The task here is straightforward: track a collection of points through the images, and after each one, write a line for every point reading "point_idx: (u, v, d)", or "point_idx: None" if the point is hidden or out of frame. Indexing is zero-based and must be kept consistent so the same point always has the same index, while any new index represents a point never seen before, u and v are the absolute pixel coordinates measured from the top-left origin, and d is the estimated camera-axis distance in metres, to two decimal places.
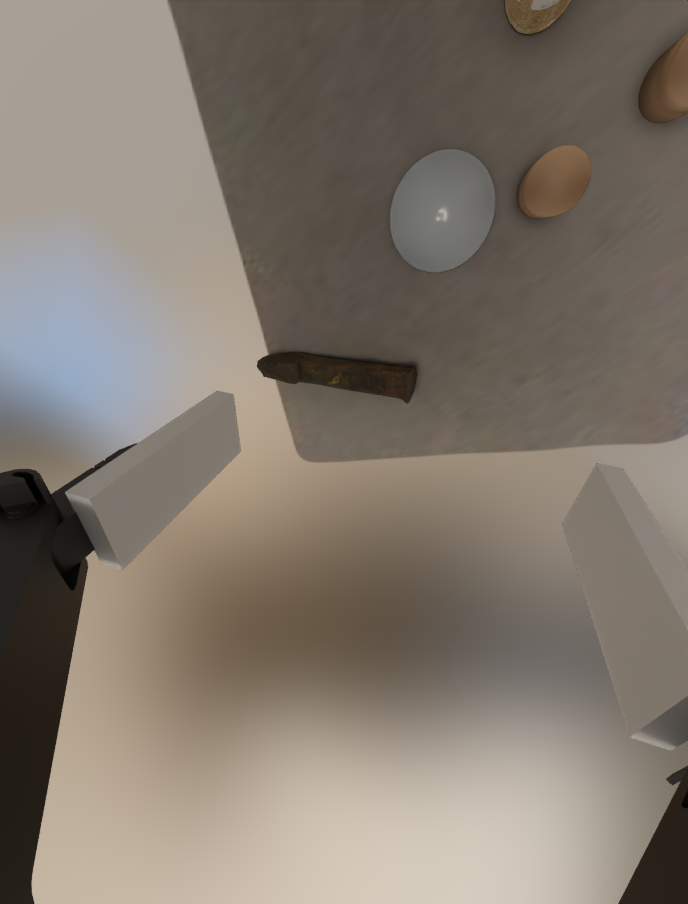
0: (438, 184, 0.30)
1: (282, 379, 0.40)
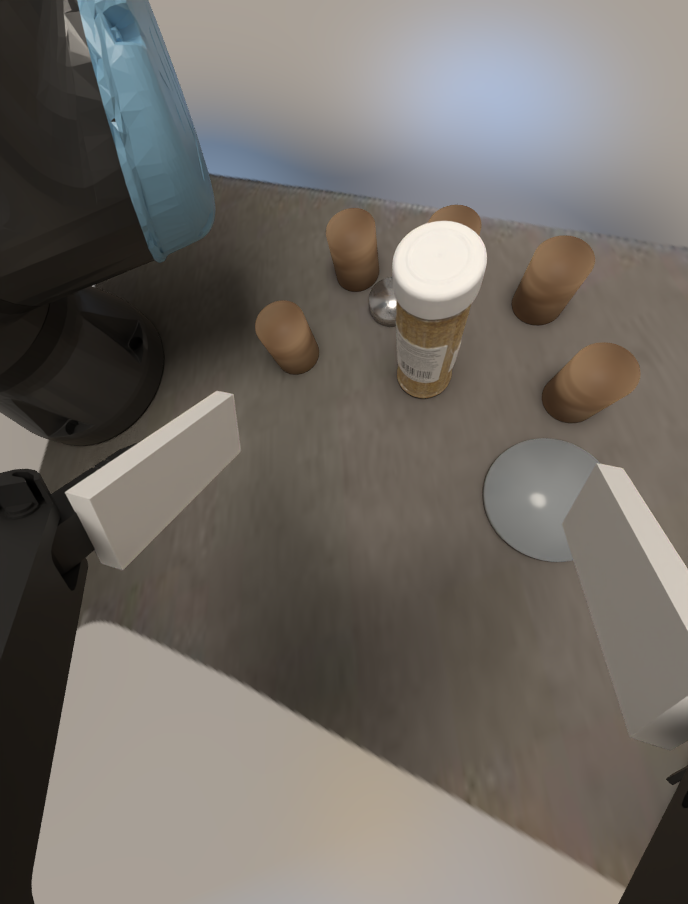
0: (517, 488, 0.26)
1: None
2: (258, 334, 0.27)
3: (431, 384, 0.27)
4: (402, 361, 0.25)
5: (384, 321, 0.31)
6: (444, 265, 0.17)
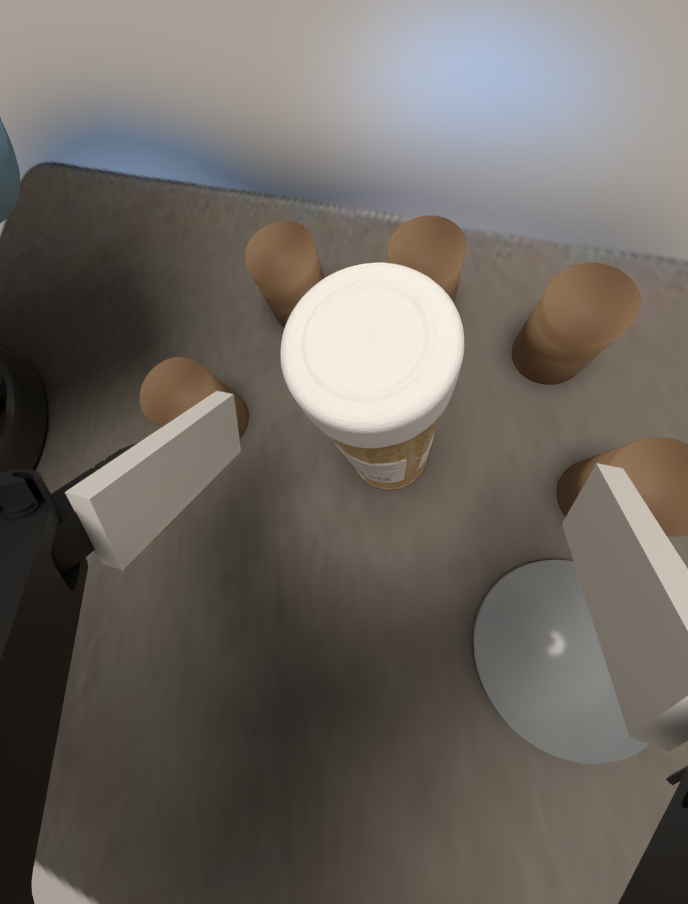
0: (523, 638, 0.18)
1: None
2: (143, 407, 0.19)
3: (395, 481, 0.18)
4: None
5: None
6: (376, 359, 0.08)
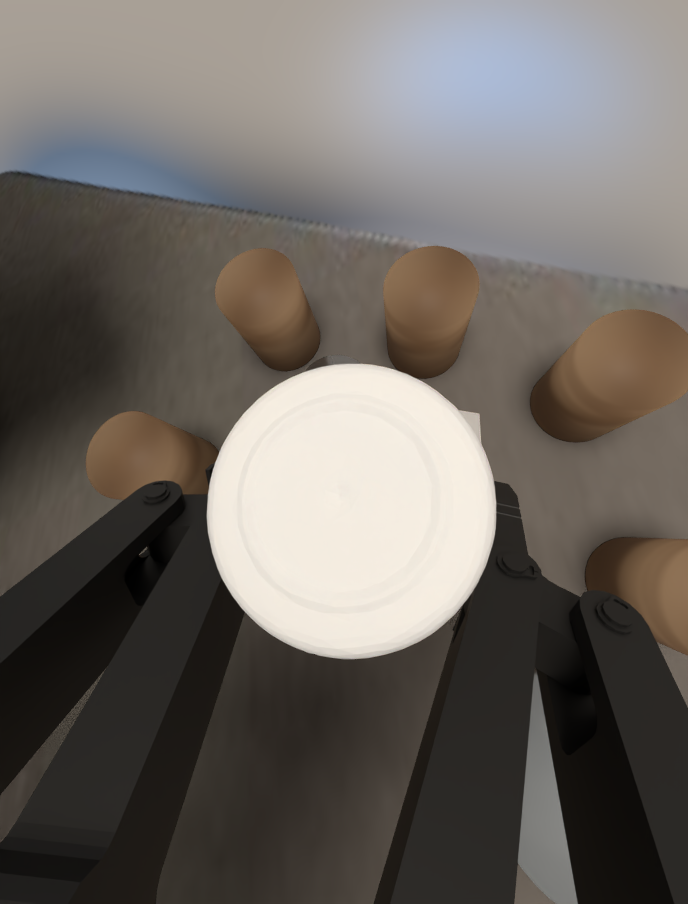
0: (546, 764, 0.14)
1: None
2: (89, 472, 0.16)
3: None
4: None
5: None
6: (353, 535, 0.05)
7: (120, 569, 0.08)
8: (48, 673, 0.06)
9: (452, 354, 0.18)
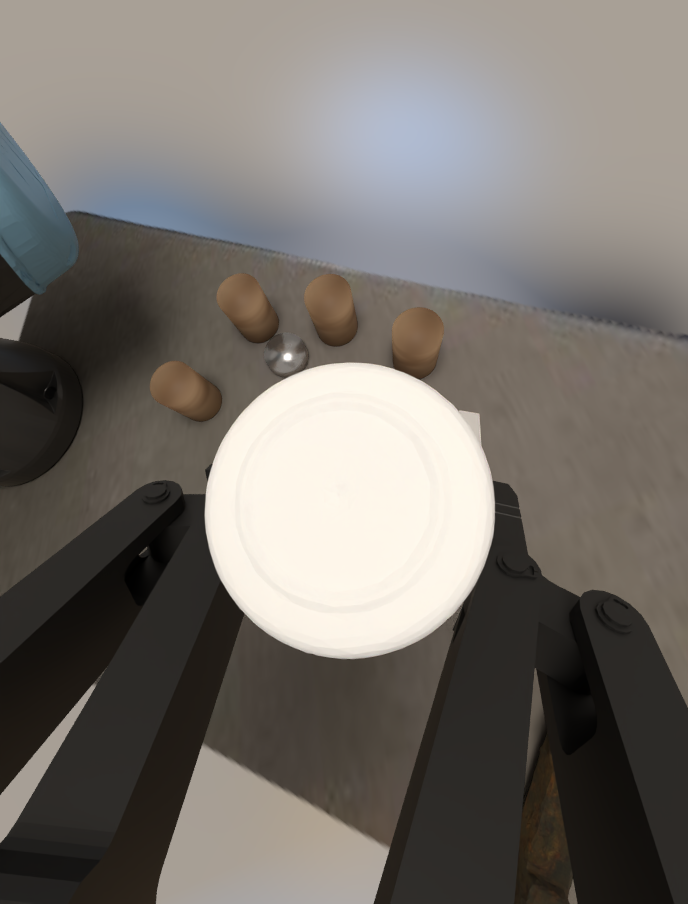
0: None
1: None
2: (152, 392, 0.30)
3: None
4: None
5: (278, 373, 0.33)
6: (351, 534, 0.05)
7: (120, 569, 0.08)
8: (48, 673, 0.06)
9: (347, 331, 0.32)
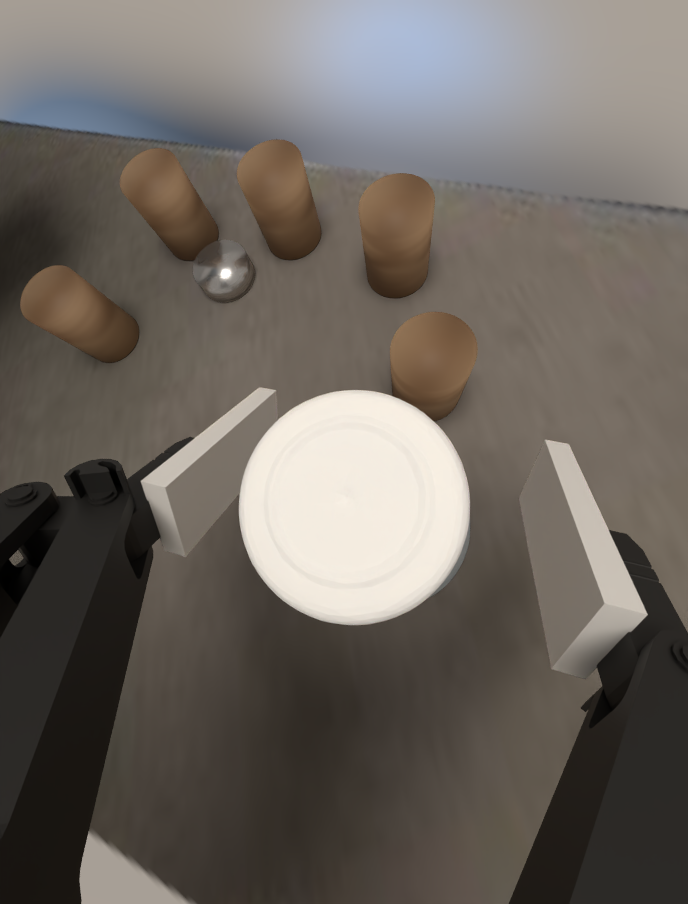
0: None
1: None
2: (23, 308, 0.21)
3: None
4: None
5: (212, 295, 0.24)
6: (356, 527, 0.06)
7: None
8: None
9: (304, 232, 0.23)
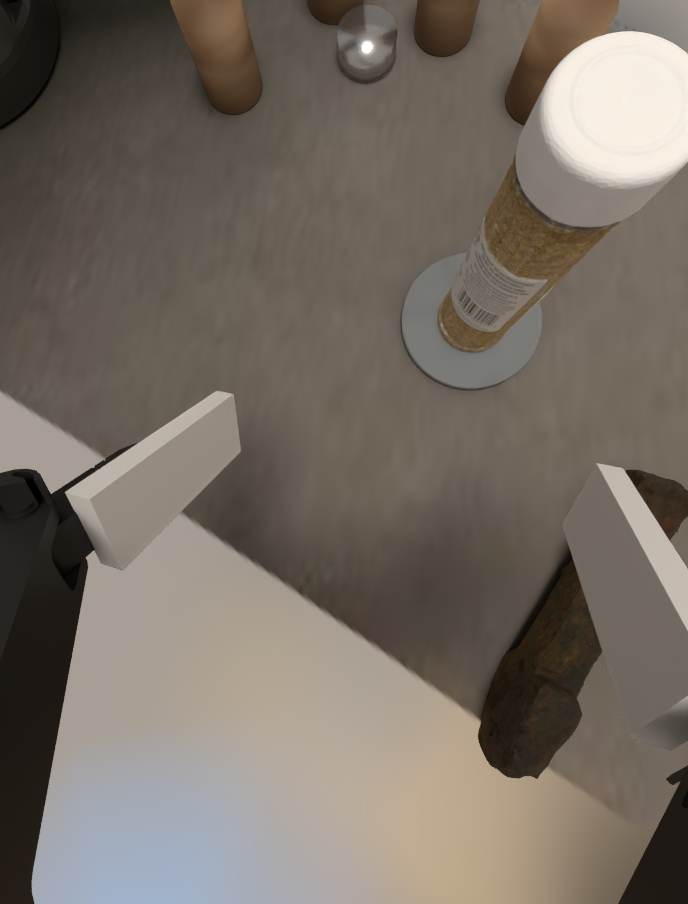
0: None
1: (562, 738, 0.18)
2: (172, 0, 0.20)
3: (486, 334, 0.20)
4: (463, 290, 0.18)
5: (350, 67, 0.24)
6: (634, 120, 0.09)
7: None
8: None
9: (463, 22, 0.23)
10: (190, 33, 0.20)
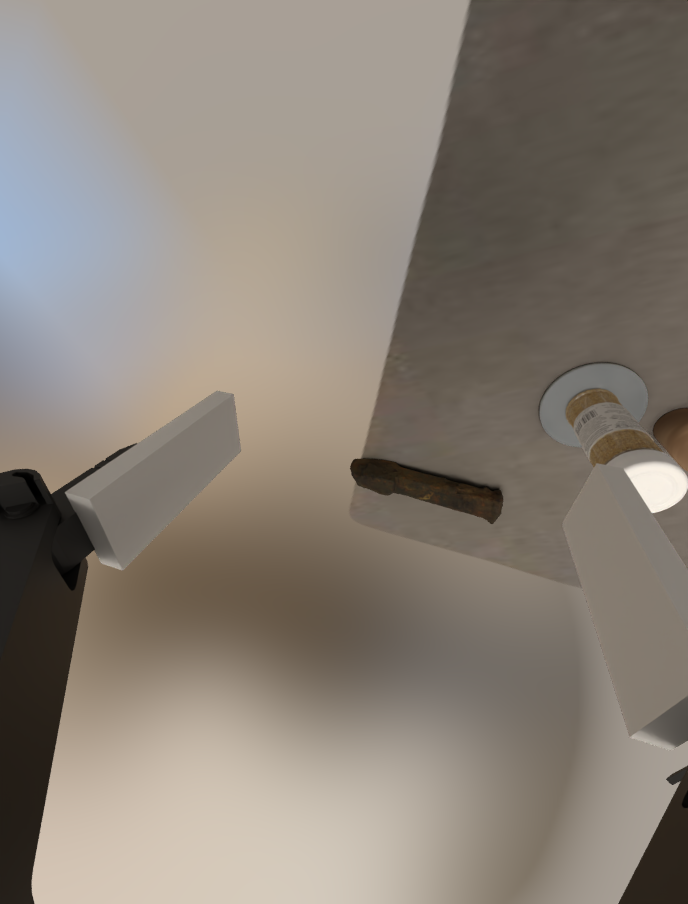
0: (603, 388, 0.33)
1: (376, 490, 0.44)
2: None
3: (573, 425, 0.33)
4: (595, 415, 0.30)
5: None
6: None
7: None
8: None
9: None
10: None
